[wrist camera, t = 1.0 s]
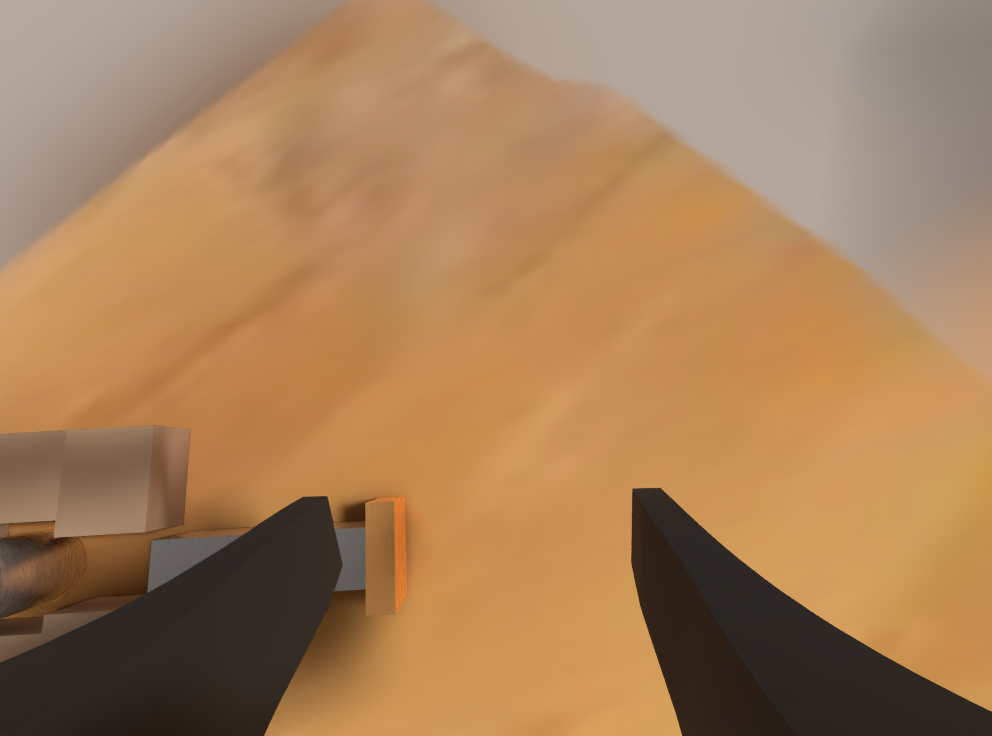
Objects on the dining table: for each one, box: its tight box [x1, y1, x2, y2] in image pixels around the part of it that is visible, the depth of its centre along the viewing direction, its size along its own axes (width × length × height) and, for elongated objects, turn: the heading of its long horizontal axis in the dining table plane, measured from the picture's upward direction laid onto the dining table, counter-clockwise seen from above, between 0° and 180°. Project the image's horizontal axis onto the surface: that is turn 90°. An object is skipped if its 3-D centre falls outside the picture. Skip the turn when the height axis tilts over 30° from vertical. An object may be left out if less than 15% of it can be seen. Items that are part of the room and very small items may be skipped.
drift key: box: [147, 496, 407, 616], centre depth 20 cm, size 4×10×3 cm, turn 93°
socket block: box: [0, 425, 190, 662], centre depth 20 cm, size 12×12×2 cm
